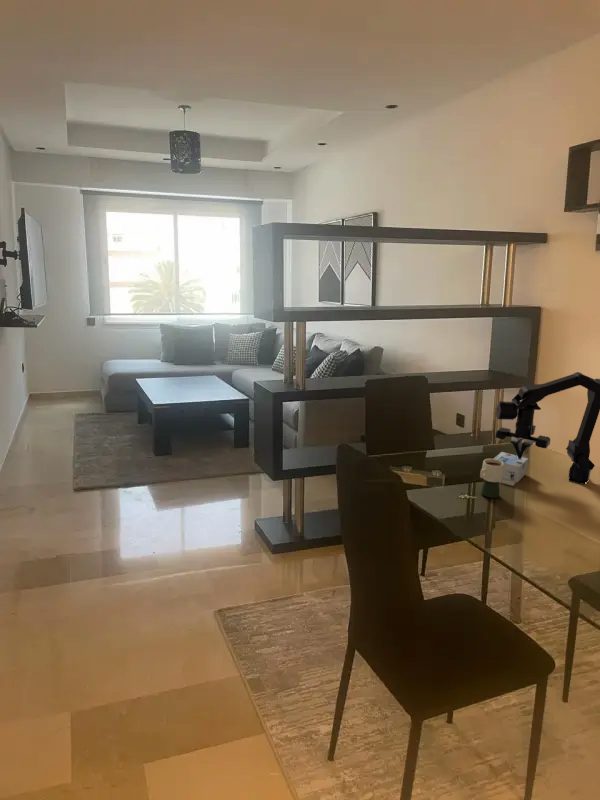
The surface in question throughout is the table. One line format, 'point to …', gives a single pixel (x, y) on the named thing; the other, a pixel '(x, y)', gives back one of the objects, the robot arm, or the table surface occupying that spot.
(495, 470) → the character mug
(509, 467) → the light bulb box
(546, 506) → the table surface
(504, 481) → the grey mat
